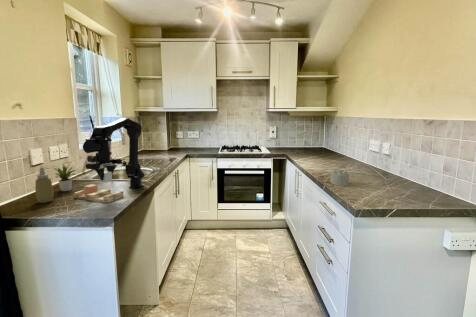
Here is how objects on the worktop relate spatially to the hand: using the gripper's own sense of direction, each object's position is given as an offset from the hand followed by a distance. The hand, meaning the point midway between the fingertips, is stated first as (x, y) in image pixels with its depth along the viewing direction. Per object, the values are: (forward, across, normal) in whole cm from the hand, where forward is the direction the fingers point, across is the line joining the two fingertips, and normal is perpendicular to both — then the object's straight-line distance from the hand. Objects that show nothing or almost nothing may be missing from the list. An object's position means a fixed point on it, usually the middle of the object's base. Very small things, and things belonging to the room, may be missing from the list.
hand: (105, 179), depth 148 cm
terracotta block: (+10, 0, -12) cm, 15 cm away
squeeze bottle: (+11, +16, -26) cm, 32 cm away
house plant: (+11, -2, -36) cm, 38 cm away
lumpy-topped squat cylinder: (+11, -82, +114) cm, 141 cm away
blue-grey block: (+1, 0, 0) cm, 1 cm away
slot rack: (+11, 0, -6) cm, 12 cm away
